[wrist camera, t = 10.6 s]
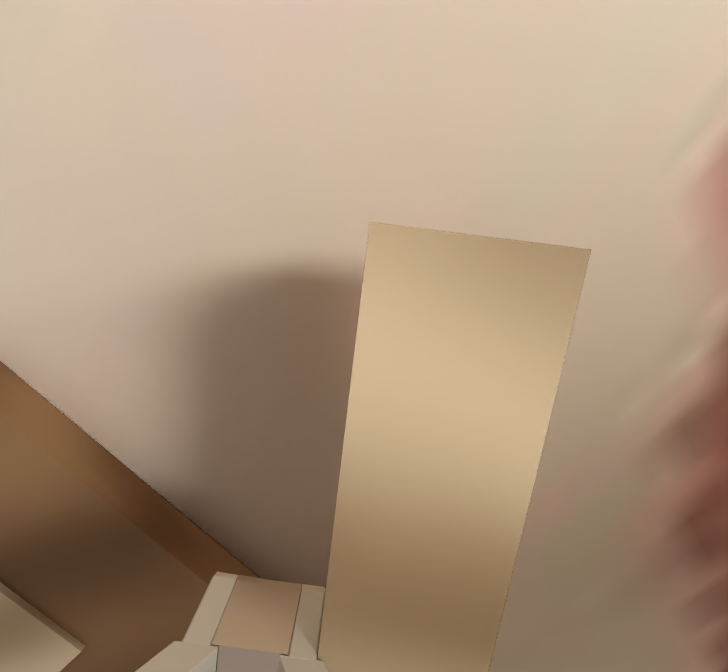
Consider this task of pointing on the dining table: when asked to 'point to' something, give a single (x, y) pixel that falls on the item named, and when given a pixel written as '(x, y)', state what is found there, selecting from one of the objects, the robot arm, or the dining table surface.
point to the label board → (88, 549)
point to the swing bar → (442, 443)
